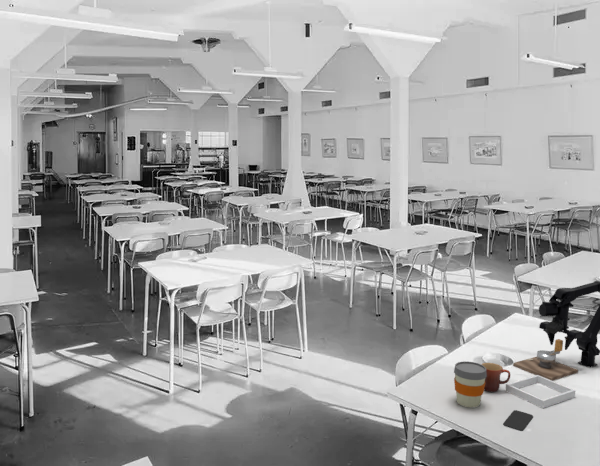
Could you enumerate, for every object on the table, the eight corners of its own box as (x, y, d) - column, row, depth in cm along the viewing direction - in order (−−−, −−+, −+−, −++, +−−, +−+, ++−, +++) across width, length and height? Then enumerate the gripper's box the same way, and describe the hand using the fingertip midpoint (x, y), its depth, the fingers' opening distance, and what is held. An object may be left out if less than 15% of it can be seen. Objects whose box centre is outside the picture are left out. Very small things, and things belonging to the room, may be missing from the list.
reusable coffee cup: (480, 412, 212) (482, 376, 210) (448, 404, 219) (450, 368, 217) (487, 400, 223) (490, 365, 221) (457, 392, 229) (459, 358, 227)
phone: (501, 424, 203) (514, 409, 214) (501, 426, 203) (514, 411, 215) (522, 430, 198) (534, 415, 210) (522, 432, 198) (533, 417, 210)
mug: (479, 391, 231) (480, 368, 229) (479, 383, 239) (481, 361, 238) (509, 396, 227) (511, 373, 225) (508, 388, 235) (510, 365, 234)
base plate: (539, 358, 270) (540, 349, 270) (577, 372, 253) (578, 363, 252) (513, 365, 260) (513, 356, 259) (550, 381, 243) (551, 371, 242)
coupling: (551, 353, 264) (553, 337, 263) (567, 358, 258) (568, 342, 256) (532, 358, 257) (534, 341, 256) (548, 364, 250) (549, 347, 249)
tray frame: (536, 381, 243) (537, 374, 242) (574, 397, 228) (575, 390, 227) (505, 390, 232) (505, 384, 232) (542, 408, 217) (543, 401, 216)
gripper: (533, 312, 261) (530, 343, 264) (569, 323, 245) (566, 356, 248) (548, 309, 267) (545, 340, 269) (584, 320, 251) (581, 352, 253)
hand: (558, 347), depth 260 cm, fingers open, 7 cm apart
